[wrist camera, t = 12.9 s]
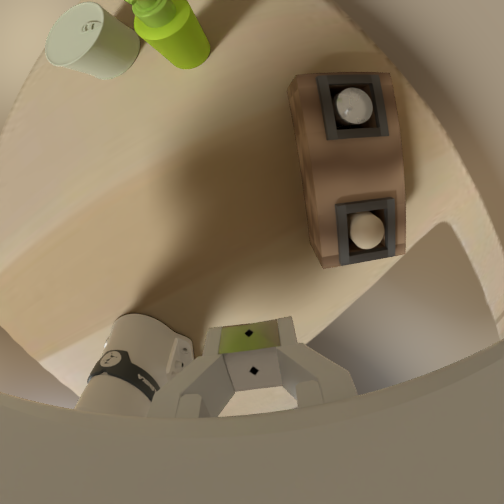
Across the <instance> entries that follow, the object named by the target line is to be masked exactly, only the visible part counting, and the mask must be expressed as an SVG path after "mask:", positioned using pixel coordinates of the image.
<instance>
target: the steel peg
mask: <svg viewBox="0 0 504 504" xmlns="http://www.w3.org/2000/svg"><path fill="white" fill-rule="evenodd" d="M331 100H332V105H333V111H334V117H335V123H336V127H342V126H348V125H354V124H361V123H364V122H366V121H367V120H368V119H369V118H370V117H371V114H372V111H373V106H372V102H371V99H370V98H369V96H368V95H367V94H366V93H365V92H364V91H362V90H360V89H358V88H347V89H345V90H343V91H341V92H340V93H338V94H336V95H334V96H333V97H331Z"/></svg>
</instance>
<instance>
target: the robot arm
mask: <svg viewBox="0 0 504 504" xmlns="http://www.w3.org/2000/svg"><path fill="white" fill-rule="evenodd" d="M277 321H278V323H277ZM104 348H105V349H104V351H103V353H102V356H101V358H100V360H99V361H98V362H97V363H96V365H95V367H94V368H93V370H92V372H91V373H90V375H89V378H88V381H87V383H88V385H87V386H86V388H85V390H84V392H83V393H82V395H81V397H80V399H79V401H78V402H77V404H76V406H75V408H74V409H69V408H63V407H58V406H53V405H48V404H44V403H39V402H35V401H31V400H27V399H23V398H20V397H15V396H12V395H9V394H5V393H2V392H0V504H504V339H502V340H500V341H498V342H497V343H495V344H493V345H491V346H489V347H487V348H485V349H483V350H481V351H479V352H477V353H475V354H473V355H471V356H468V357H466V358H464V359H462V360H460V361H457V362H455V363H453V364H450V365H448V366H445V367H443V368H441V369H438V370H436V371H433V372H430V373H428V374H425V375H423V376H420V377H417V378H414V379H411V380H408V381H405V382H403V383H399V384H396V385H393V386H390V387H387V388H384V389H380V390H377V391H373V392H370V393H366V394H362V395H358V394H357V391H356V388H355V386H354V383H353V381H352V378H351V375H350V373H349V371H347V370H345V369H344V368H342V367H341V366H339V365H337V364H335V363H334V362H332V361H330V360H329V359H327V358H326V357H324V356H322V355H321V354H319V353H317V352H316V351H314V350H312V349H311V348H309V347H308V346H306V345H305V344H303V343H298V342H297V338H296V333H295V329H294V325H293V320H292V317H291V316H289V317H284V318H279V319H275V320H269V321H263V322H257V323H251V324H250V323H249V324H240V325H232V326H223V327H214V328H209V329H208V331H207V335H206V340H205V345H204V349H203V354H202V356H198V357H197V358H196V359H195V360H194V353H193V346H192V341H191V340H190V339H189V338H187V337H185V336H183V335H180V334H177V333H175V332H174V331H172V330H171V329H170V328H169V327H167V326H166V325H165V324H163V323H162V322H160V321H158V320H156V319H154V318H152V317H149V316H146V315H142V314H127V315H124V316H122V317H120V318H118V319H117V320H116V321H115V322H114V324H113V326H112V330H111V333H110V336H109V338H108V339H107V341H106V343H105V345H104ZM185 348H186V349H185ZM277 386H283V387H284V388H285V389H286V390H287V391H288V392H289V393H290V394H291V395H292V396H293V397H294V398H295V399H296V400H297V403H298V408H296V409H290V410H283V411H276V412H268V413H260V414H251V415H240V416H227V417H218V415H219V414H220V413H221V411H222V410H223V409H224V407H225V406H226V404H227V403H228V402H229V400H230V399H231V398H232V396H233V395H234V394H235V392H236V391H244V390H252V389H259V388H268V387H277Z"/></svg>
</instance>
